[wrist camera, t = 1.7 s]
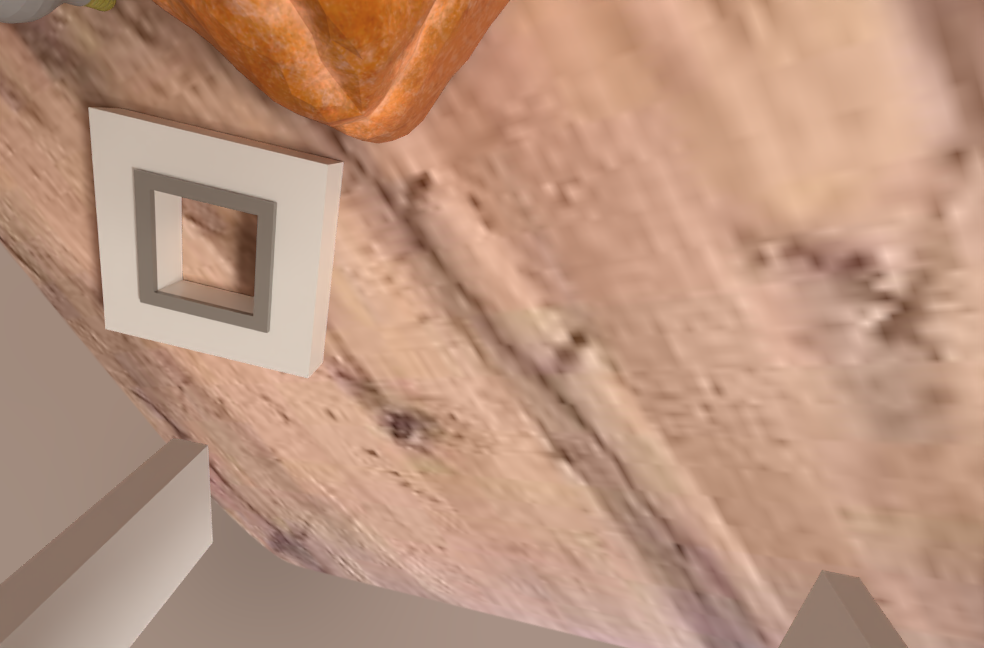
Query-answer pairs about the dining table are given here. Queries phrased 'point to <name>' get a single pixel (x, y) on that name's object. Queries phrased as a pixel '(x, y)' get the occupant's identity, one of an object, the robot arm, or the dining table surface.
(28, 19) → the light bulb
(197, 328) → the socket block
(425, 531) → the dining table surface
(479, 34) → the bread
